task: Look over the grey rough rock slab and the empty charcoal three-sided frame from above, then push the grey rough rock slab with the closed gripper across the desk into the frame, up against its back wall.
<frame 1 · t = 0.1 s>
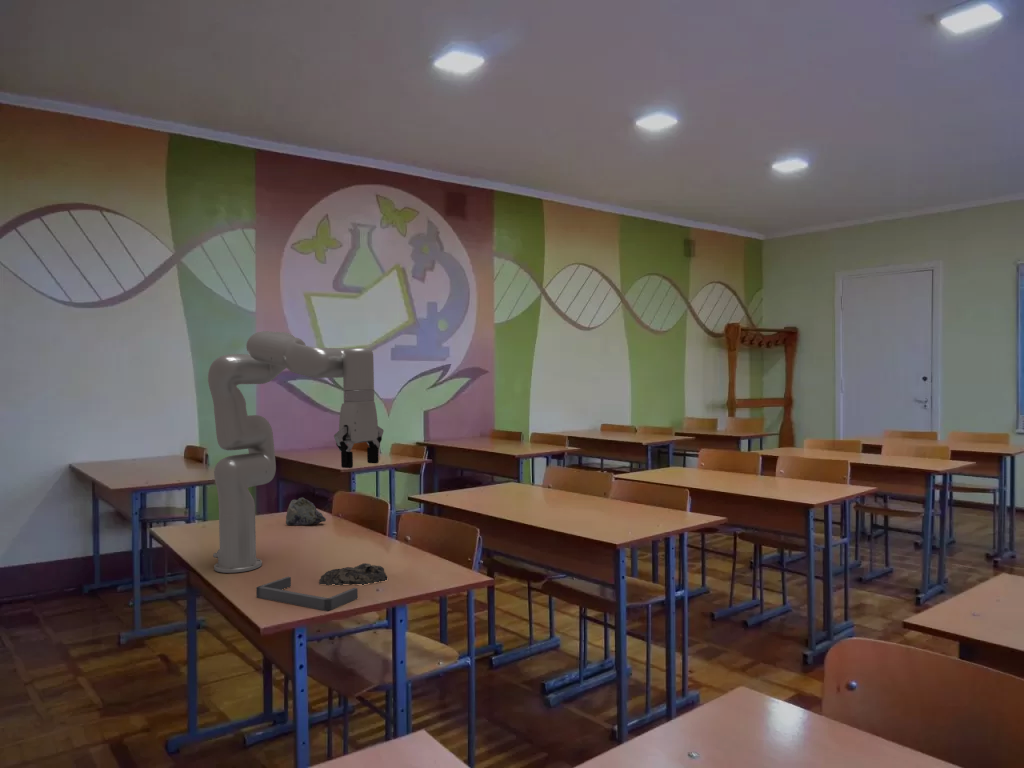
hand: (360, 465, 182), 31 cm above the table, tool pointing down, fingers open, 9 cm apart
grey rough rock slab: (356, 581, 191), on the table
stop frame: (324, 591, 180), on the table
mineral rock: (305, 525, 261), on the table
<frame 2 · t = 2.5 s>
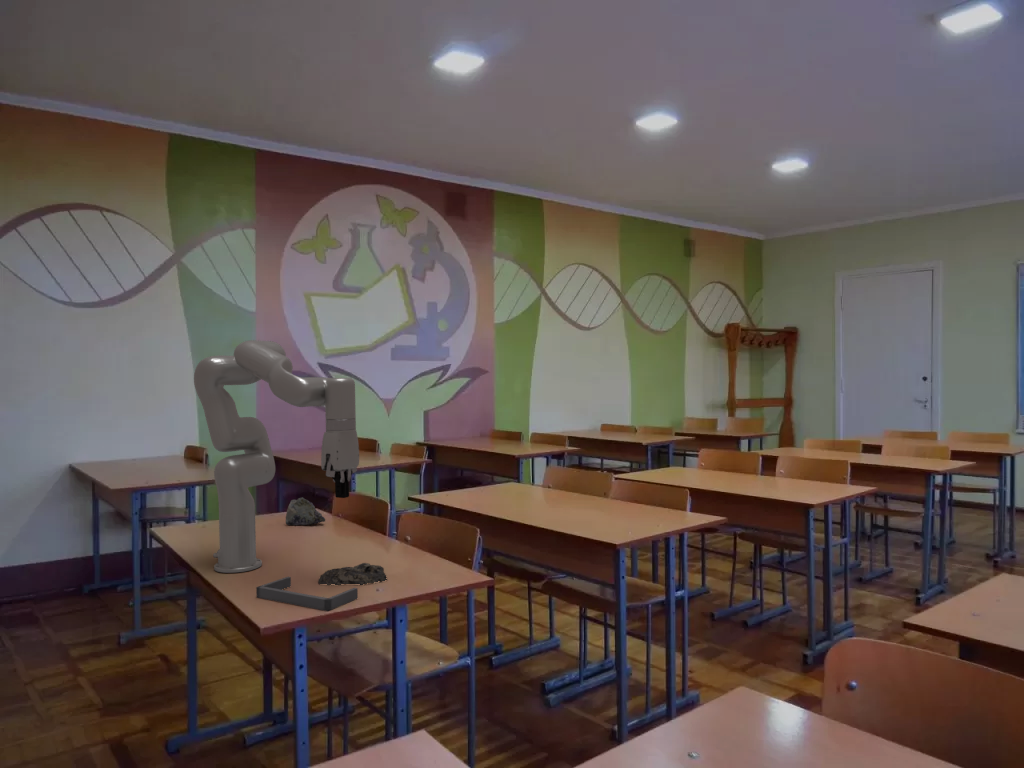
hand: (342, 497, 186), 22 cm above the table, tool pointing down, fingers closed
nothing on the table moved.
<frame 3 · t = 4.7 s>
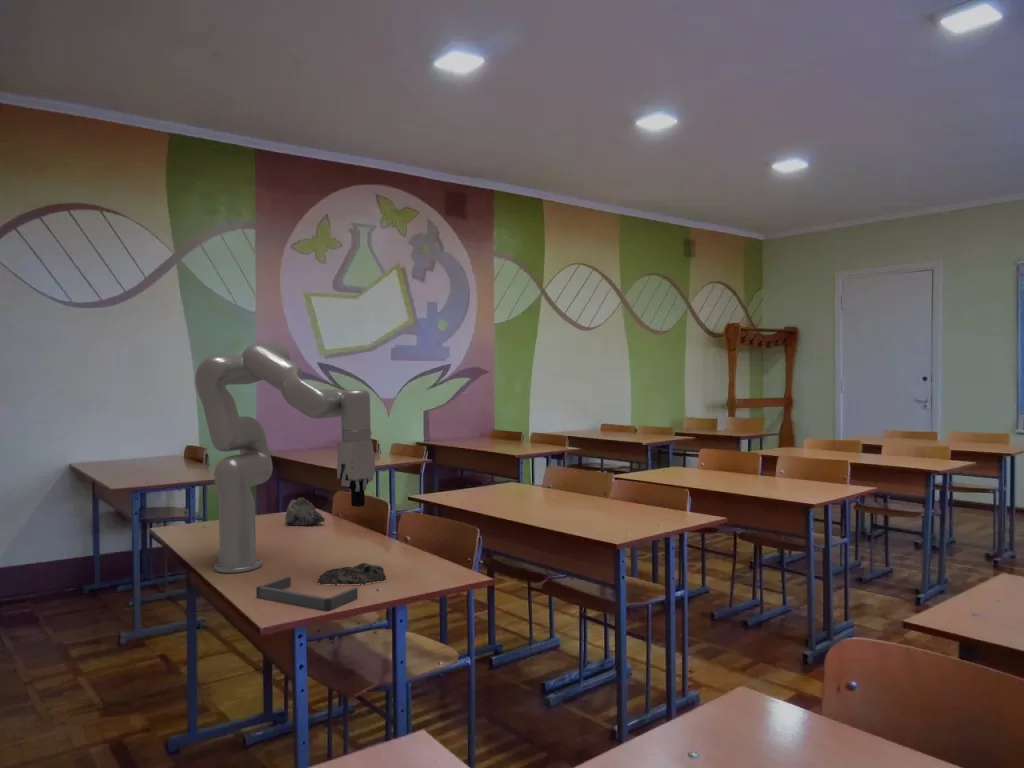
hand: (358, 505, 191), 19 cm above the table, tool pointing down, fingers closed
nothing on the table moved.
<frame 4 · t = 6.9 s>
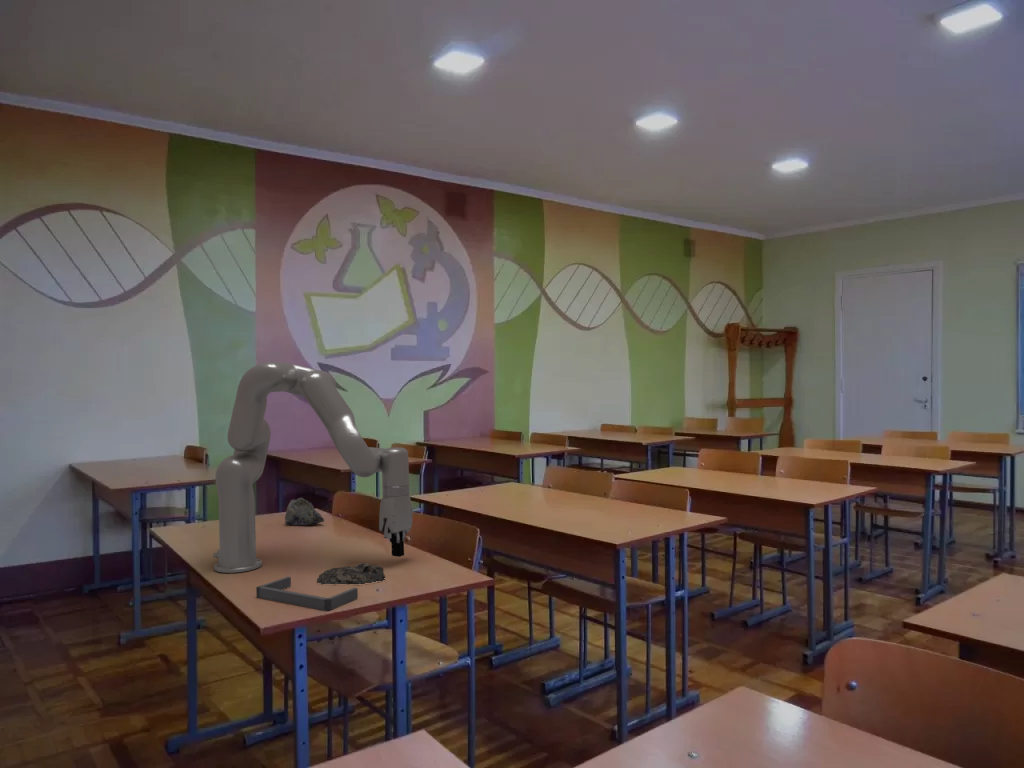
hand: (397, 555, 206), 2 cm above the table, tool pointing down, fingers closed
nothing on the table moved.
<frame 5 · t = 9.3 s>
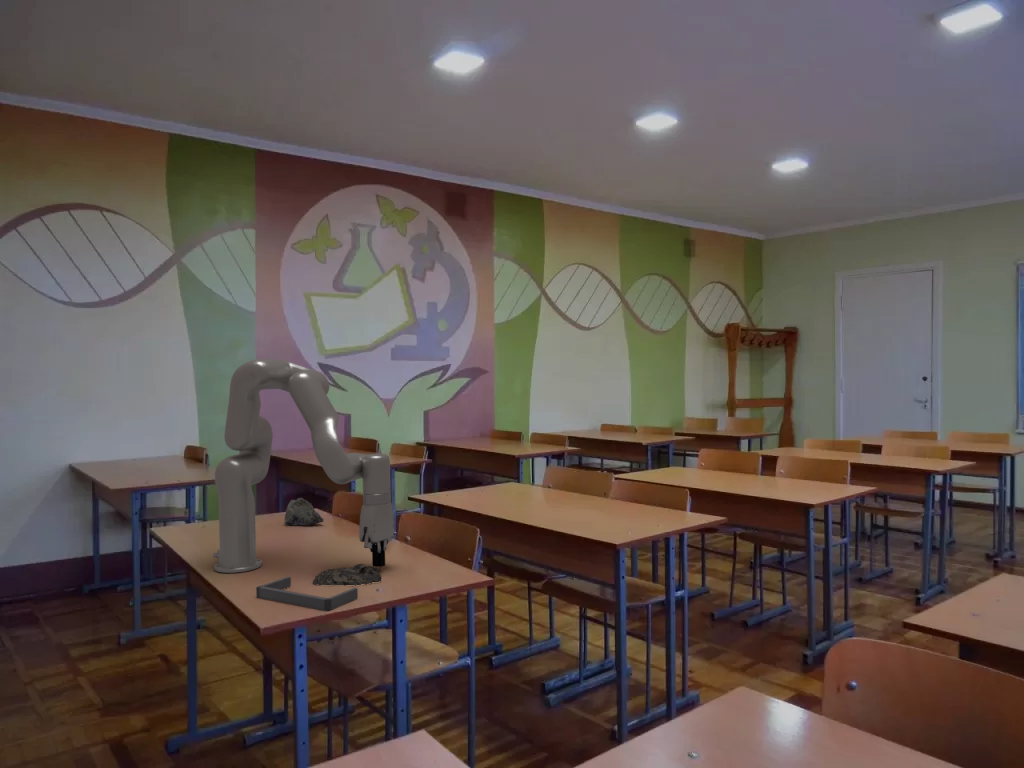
hand: (378, 565, 198), 1 cm above the table, tool pointing down, fingers closed
grey rough rock slab: (351, 582, 190), on the table
everything else where it was.
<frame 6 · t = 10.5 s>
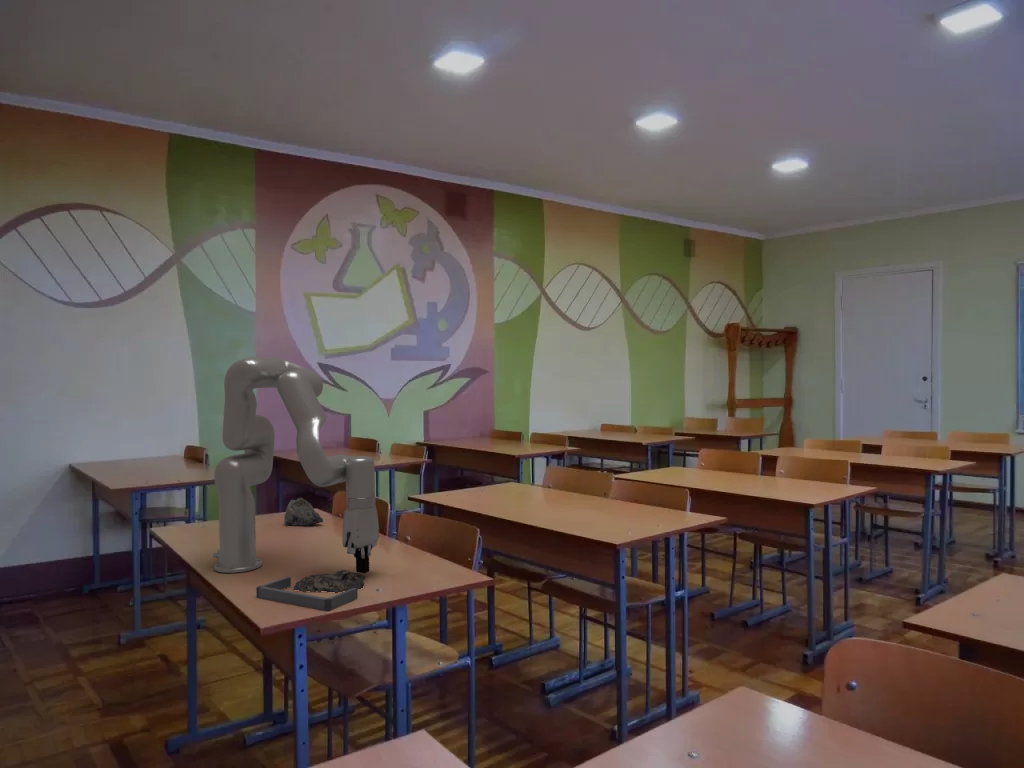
hand: (362, 571, 192), 1 cm above the table, tool pointing down, fingers closed
grey rough rock slab: (333, 588, 185), on the table
everything else where it was.
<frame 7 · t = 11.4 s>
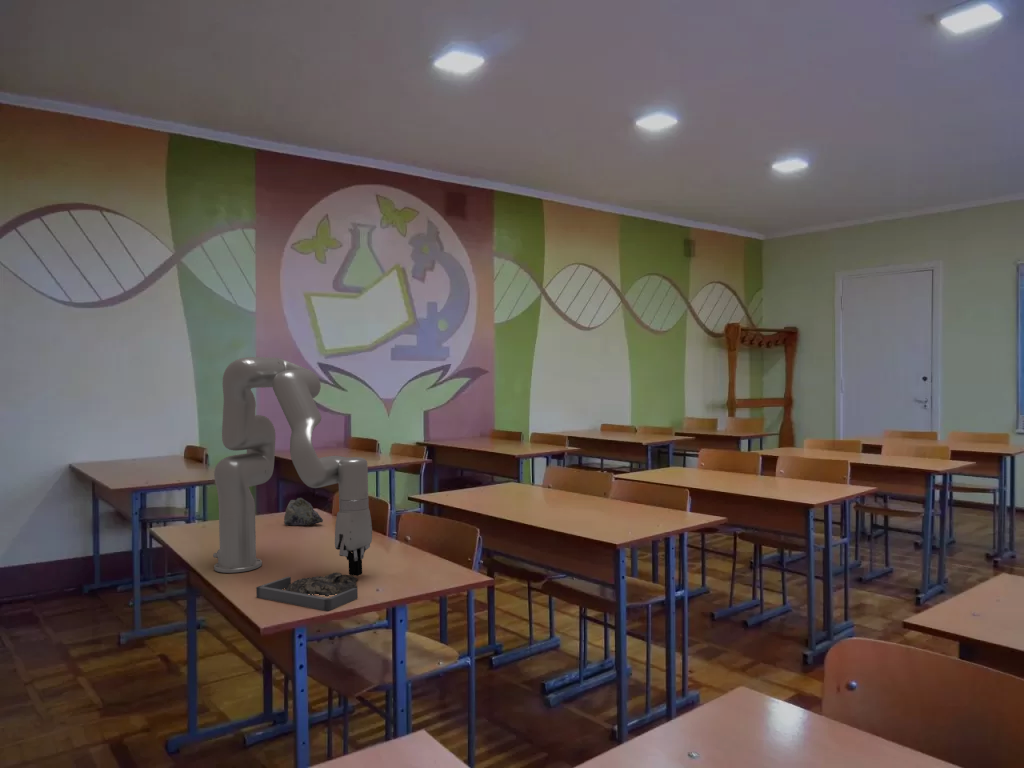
hand: (355, 574, 190), 1 cm above the table, tool pointing down, fingers closed
grey rough rock slab: (325, 591, 183), on the table, touching gripper
everything else where it was.
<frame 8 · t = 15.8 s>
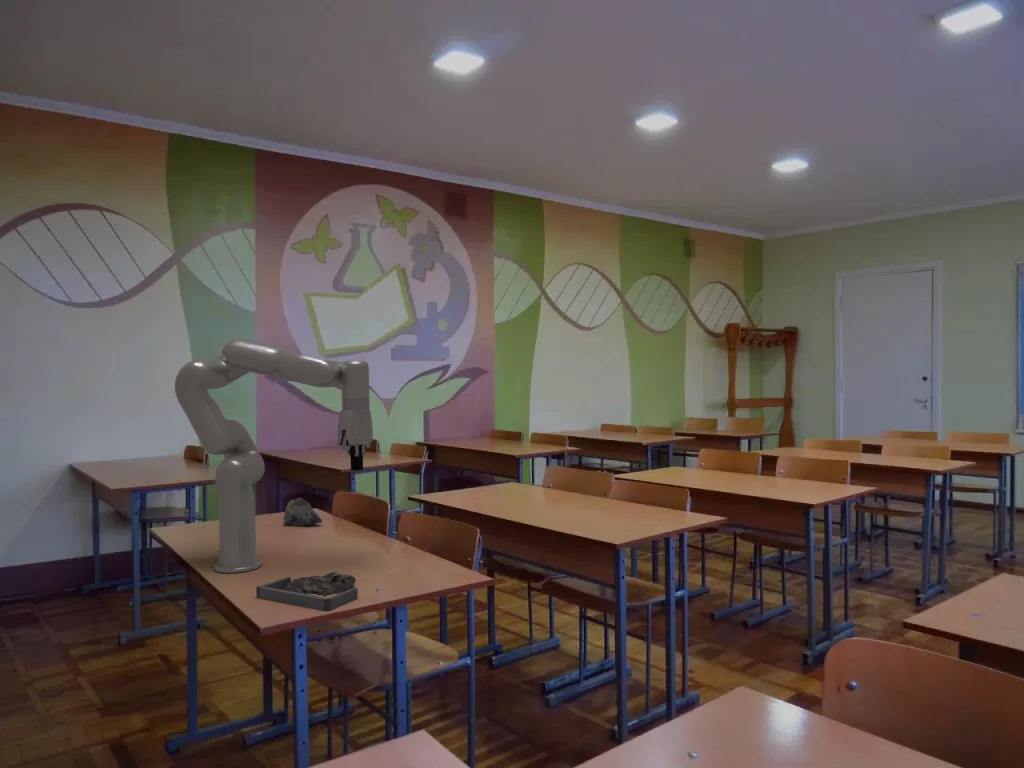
hand: (356, 470, 203), 27 cm above the table, tool pointing down, fingers closed
grey rough rock slab: (323, 591, 183), on the table
at the end: grey rough rock slab inside the target area on the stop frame (2.6 cm from its centre), point -0.7 cm above the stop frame's base; grey rough rock slab moved 10.7 cm from its start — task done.
